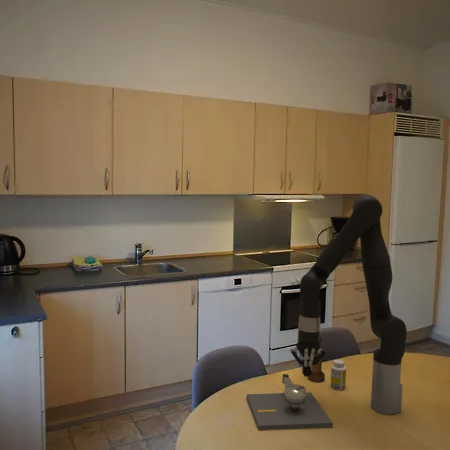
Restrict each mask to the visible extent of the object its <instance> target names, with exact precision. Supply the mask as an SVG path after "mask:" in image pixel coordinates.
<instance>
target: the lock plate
mask: <svg viewBox="0 0 450 450" xmlns="http://www.w3.org/2000/svg"><path fill="white" fill-rule="evenodd" d="M284 397H285V392H281V393H280V392H279V393H278V392H277V393H276V392H275V393H247V394H246V400H247V402H248V406H249V408H250V410H251V413H252V416H253V419H254V421H255V424H256V427H257V429H258V431H271V430H272V431H274V430H298V429H301V430H302V429H303V430H304V429H323V428H324V429H326V428H333V424H334V422H333V421H332V420H331V418H330V417H329V415H328V414H327V413H326V411H325V409H324V408H323V407H322V405H321V404H320V403H319V401H318V400H317V398H316V396H314V393H312V392H310V391H308V392H307V391H306V402H305V403H304V404H302V405H299V411H297V412H294V411H291V410H290V404H289V403H287V402H286V401H285V400H284Z"/></svg>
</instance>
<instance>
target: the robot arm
mask: <svg viewBox="0 0 450 450" xmlns="http://www.w3.org/2000/svg"><path fill="white" fill-rule="evenodd" d="M382 214H383V205H382V203H381V202H380V201H379V200H378V198H377V197H375V196H373V195H371V194H363V195H360V196H358V197H357V198H356V199H355V200H354V202H353V203H352V213H351V215H350V216H349V218H348V220H347V221H346V223H345V225H344V226H343V227H342V229H341V230H340V231H339V232H338V233H337V234H336V235H335V236H334V237H333V238H332V240H330V241H329V243H328V244H327V245H326V246H325V247H324V249H323V250H322V251H321V253H320V254H319V255H318V257H317V258H316V260H315V262H314V263H313V265H312V267H311V268H310V269H309V270H308V271H307V272H306V273H305V274H304V275H303V276H302V277H301V279H300V283H299V294H300V296H299V297H300V307H299V317H298V326H297V327H298V329H297V343H296V345H295V347H294V348H291V349H290V350H289V351H290V353H291V355H292V356H293V357H294V359H295V360H296V362H297V363H298V364H299V365H300V366H301V368H302V369H301V371H302V372H301V373H302V375H303V376H304V378H305V377H306V378H308V377H309V375H311V370H312V365H316V364H317V363H318V362H319V361H320V360H321V358H322V359H323V357H324V356H325V355H326V353H327V352H326V351H325V350H324V349H323V348H321V346H320V344H319V337H320V336H321V335H320V334H321V309H322V308H321V307H322V305H321V302H320V295H321V294H320V293H321V291H320V290H321V288H322V287H323V286H324V284H325V283H326V282H327V280H328V279H329V277H330V275H331V274H332V273H333V272H334V271H335V270H336V268H337V267H338V266H339V265H340V263H341V262H342V261H343V259H344V258H345V257H346V255H347V254H348V253H349V251H350V250H351V249H352V247H353V246H354V245H355V243H356V242H357V241H358V240H359V242H360V257H361V266H362V271H363V276H364V277H363V278H364V281H365V287H366V292H367V297H368V306H369V319H370V320H369V321H370V328H371V331H372V333H373V334H374V336H376V337H377V338H379V339H380V346H379V348H376V349H375V350H374V351H373V354H372V355H373V356H372V375H371V377H372V379H371V393H370V408H371V409H372V410H373V411H374V412H376V413H379V414H382V415H389V416H390V415H396V414H398V413H401V412H402V405H403V404H402V403H403V387H404V386H403V384H402V383H401V375H402V360H403V357H404V355H405V352H406V344H407V343H406V342H407V335H408V334H407V331H408V330H407V326H406V323H405V321H404V320H402V319H401V318H399V317H397V316H396V315H393V313H392V309H391V306H390V298H389V294H390V290H391V287H392V283H393V270H392V264H391V259H390V255H389V251H388V248H387V245H386V242H385V239H384V236H383V232H382V225H381V217H382ZM316 353H317V354H316ZM298 354H300V355H301V359H300V357H299V356H298ZM315 354H316V355H315ZM314 355H315V357H314Z"/></svg>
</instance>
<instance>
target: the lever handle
mask: <svg viewBox="0 0 450 450" xmlns="http://www.w3.org/2000/svg"><path fill="white" fill-rule="evenodd" d="M281 380H282V381H281V383H282V384H283V385H284V386H285V387H284V393H285V397H284V400H285V401H286V402H287V403H289V404H290V410H291V411H294V412H297V411H299V405H302V404H304V403H305V402H306V392H307V388H306V387H305V386H304V385H301V384H294V383H293V381H292V380H291V378H290V376H289V374H288V373H283V374H282V378H281Z"/></svg>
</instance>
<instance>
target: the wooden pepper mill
mask: <svg viewBox="0 0 450 450" xmlns="http://www.w3.org/2000/svg"><path fill="white" fill-rule="evenodd" d="M322 341H323V337H322V336H321V335H320V337H319V345H320V344H321V342H322ZM316 354H317V353H316ZM316 354H315V355H316ZM315 355H314V357H315ZM322 365H323V357H322V358H321V360H320V361H319V362H318V363H317V364H316V365H312V367H311V375H309V377H307V379H308V380H309V381H310V382H313V383H323V382H324V381H325V377H326V376H325V375H326V374H325V373H324V372H323V371H322Z"/></svg>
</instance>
